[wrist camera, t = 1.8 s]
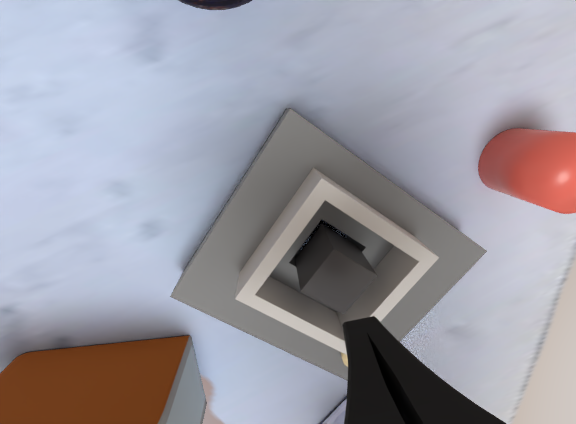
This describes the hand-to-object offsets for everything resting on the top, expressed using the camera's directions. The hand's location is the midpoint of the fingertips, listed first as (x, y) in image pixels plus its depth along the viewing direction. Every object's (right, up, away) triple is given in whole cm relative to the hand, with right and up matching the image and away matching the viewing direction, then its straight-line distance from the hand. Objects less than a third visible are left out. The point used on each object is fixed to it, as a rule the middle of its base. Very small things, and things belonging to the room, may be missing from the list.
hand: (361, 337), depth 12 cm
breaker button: (-1, +2, +7) cm, 7 cm away
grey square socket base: (0, +2, +10) cm, 10 cm away
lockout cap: (+13, +9, +9) cm, 18 cm away
